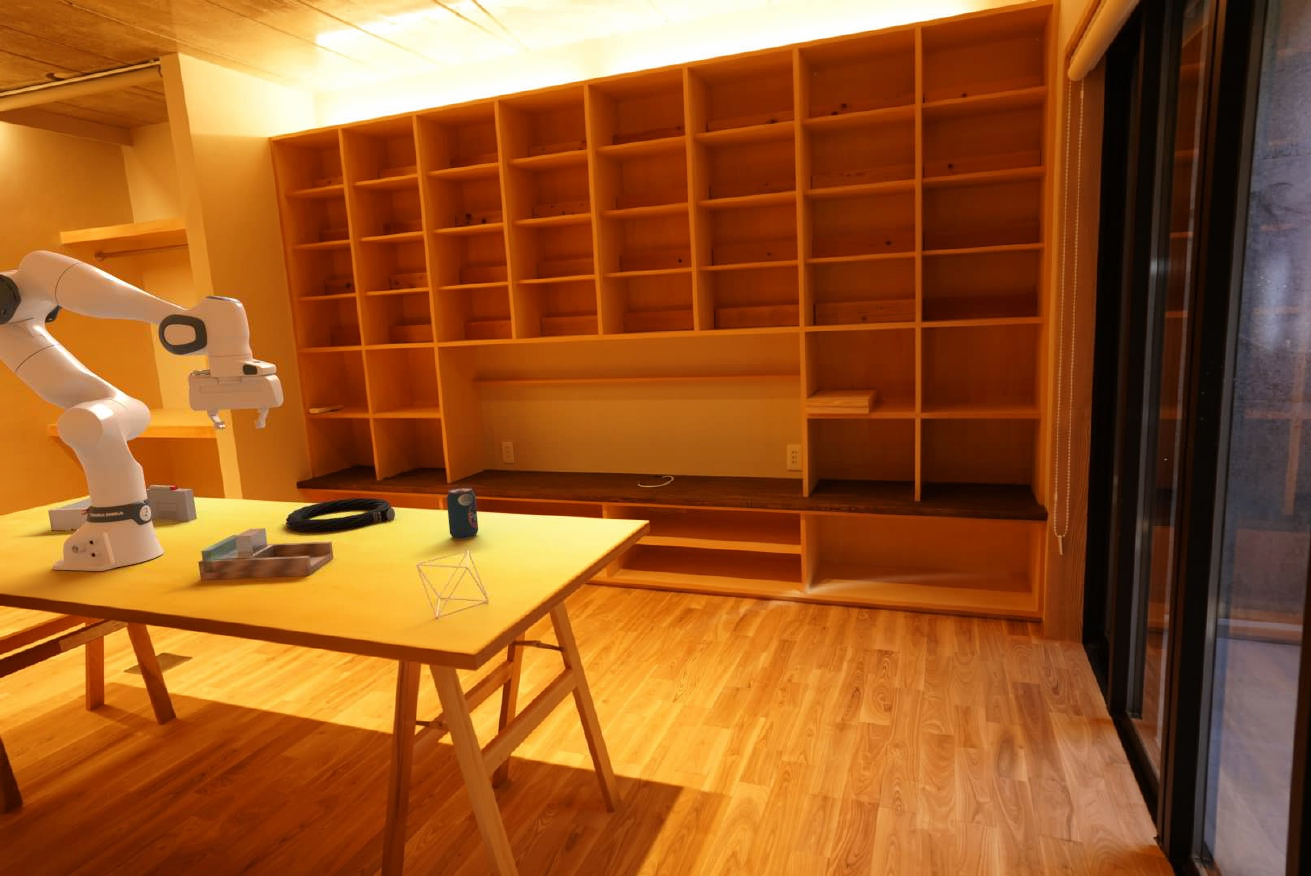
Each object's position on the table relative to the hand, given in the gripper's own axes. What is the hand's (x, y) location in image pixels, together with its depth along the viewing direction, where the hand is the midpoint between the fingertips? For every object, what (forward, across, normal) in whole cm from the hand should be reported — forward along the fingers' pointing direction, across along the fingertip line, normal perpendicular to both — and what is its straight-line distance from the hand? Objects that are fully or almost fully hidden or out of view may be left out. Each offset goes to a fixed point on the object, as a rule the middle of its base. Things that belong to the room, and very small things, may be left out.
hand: (240, 428), depth 175 cm
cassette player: (+31, -49, +43) cm, 72 cm away
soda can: (+31, +46, +12) cm, 57 cm away
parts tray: (+31, -72, +46) cm, 91 cm away
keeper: (+29, +2, -8) cm, 31 cm away
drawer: (+31, +7, -8) cm, 33 cm away
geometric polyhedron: (+32, +57, -35) cm, 74 cm away
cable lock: (+32, +6, +34) cm, 47 cm away
